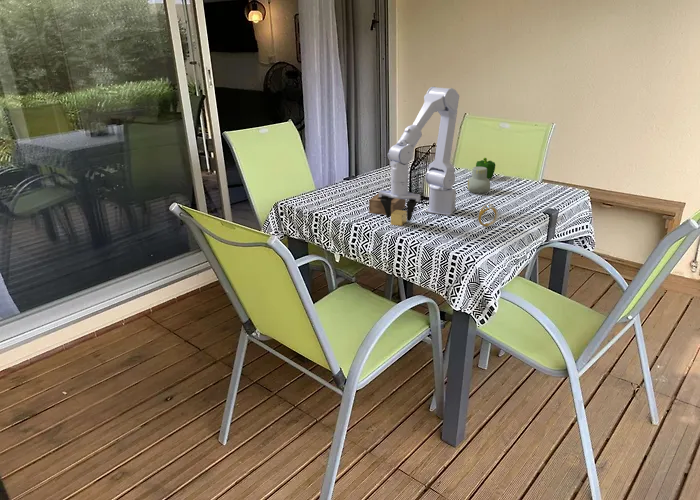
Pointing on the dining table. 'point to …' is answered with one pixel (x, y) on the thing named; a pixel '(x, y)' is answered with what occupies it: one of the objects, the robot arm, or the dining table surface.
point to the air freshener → (479, 180)
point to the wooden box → (378, 208)
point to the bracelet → (485, 211)
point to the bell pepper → (488, 165)
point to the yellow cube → (398, 217)
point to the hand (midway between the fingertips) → (398, 218)
